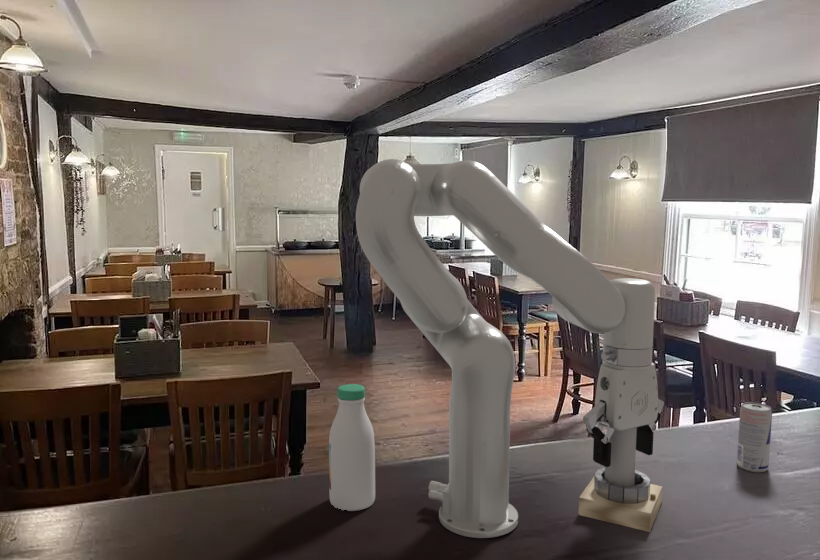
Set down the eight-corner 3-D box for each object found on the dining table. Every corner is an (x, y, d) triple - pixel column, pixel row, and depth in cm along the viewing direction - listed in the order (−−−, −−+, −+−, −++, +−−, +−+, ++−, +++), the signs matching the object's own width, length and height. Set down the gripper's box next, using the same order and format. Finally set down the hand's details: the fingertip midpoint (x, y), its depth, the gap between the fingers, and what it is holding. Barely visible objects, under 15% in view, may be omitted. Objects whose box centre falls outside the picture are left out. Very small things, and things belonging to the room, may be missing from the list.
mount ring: (589, 496, 105) (589, 481, 105) (601, 476, 113) (602, 463, 112) (643, 508, 101) (644, 493, 101) (653, 487, 108) (654, 473, 108)
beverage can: (639, 489, 107) (641, 419, 106) (626, 499, 104) (629, 427, 103) (611, 481, 111) (613, 413, 109) (598, 491, 107) (600, 420, 106)
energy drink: (769, 465, 125) (773, 405, 123) (767, 475, 120) (771, 412, 119) (738, 459, 128) (741, 400, 126) (735, 468, 123) (738, 407, 122)
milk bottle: (384, 501, 110) (384, 386, 108) (350, 517, 105) (349, 396, 102) (354, 487, 115) (352, 378, 113) (320, 502, 110) (318, 387, 107)
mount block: (578, 514, 105) (579, 493, 105) (595, 489, 115) (596, 469, 114) (649, 532, 100) (650, 509, 99) (661, 503, 109) (662, 482, 109)
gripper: (606, 367, 97) (601, 477, 99) (683, 354, 105) (677, 455, 107) (570, 357, 103) (567, 460, 105) (645, 345, 112) (641, 441, 114)
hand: (623, 458), depth 106 cm, fingers open, 9 cm apart
